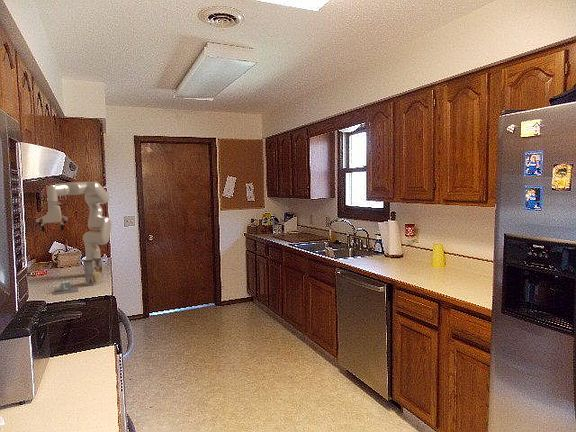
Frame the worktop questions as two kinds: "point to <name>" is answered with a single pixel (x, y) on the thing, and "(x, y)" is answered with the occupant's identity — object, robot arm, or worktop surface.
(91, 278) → the coffee box
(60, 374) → the worktop surface
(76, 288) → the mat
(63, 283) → the letter cube
